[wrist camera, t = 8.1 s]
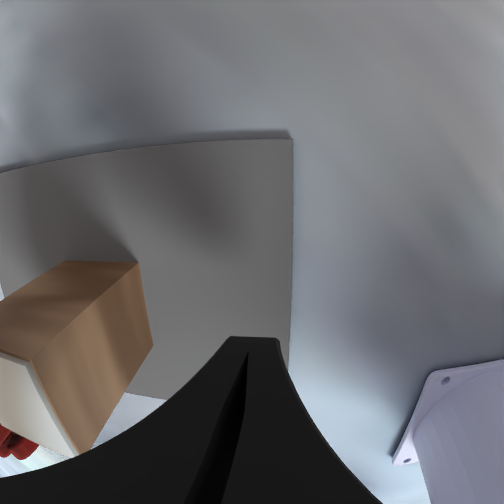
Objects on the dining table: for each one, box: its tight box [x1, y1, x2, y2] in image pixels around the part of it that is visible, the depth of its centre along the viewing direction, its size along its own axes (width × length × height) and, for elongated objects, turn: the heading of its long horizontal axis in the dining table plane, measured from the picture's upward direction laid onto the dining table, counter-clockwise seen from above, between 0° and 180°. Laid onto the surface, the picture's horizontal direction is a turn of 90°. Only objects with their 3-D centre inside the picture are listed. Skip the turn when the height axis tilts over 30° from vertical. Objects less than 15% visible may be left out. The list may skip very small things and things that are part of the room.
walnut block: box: [0, 260, 154, 458], centre depth 10 cm, size 4×4×7 cm
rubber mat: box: [0, 139, 293, 400], centre depth 13 cm, size 16×12×1 cm
